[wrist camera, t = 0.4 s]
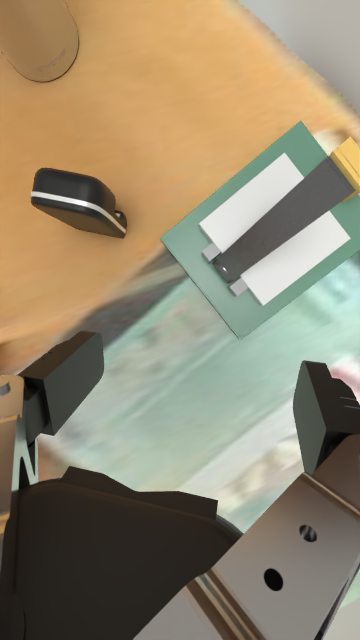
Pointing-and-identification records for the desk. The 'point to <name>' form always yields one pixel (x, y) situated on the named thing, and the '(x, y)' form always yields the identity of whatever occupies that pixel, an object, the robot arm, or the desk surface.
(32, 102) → the desk surface
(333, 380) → the robot arm
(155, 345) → the desk surface
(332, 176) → the gray flat bar
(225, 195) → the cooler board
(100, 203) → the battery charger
